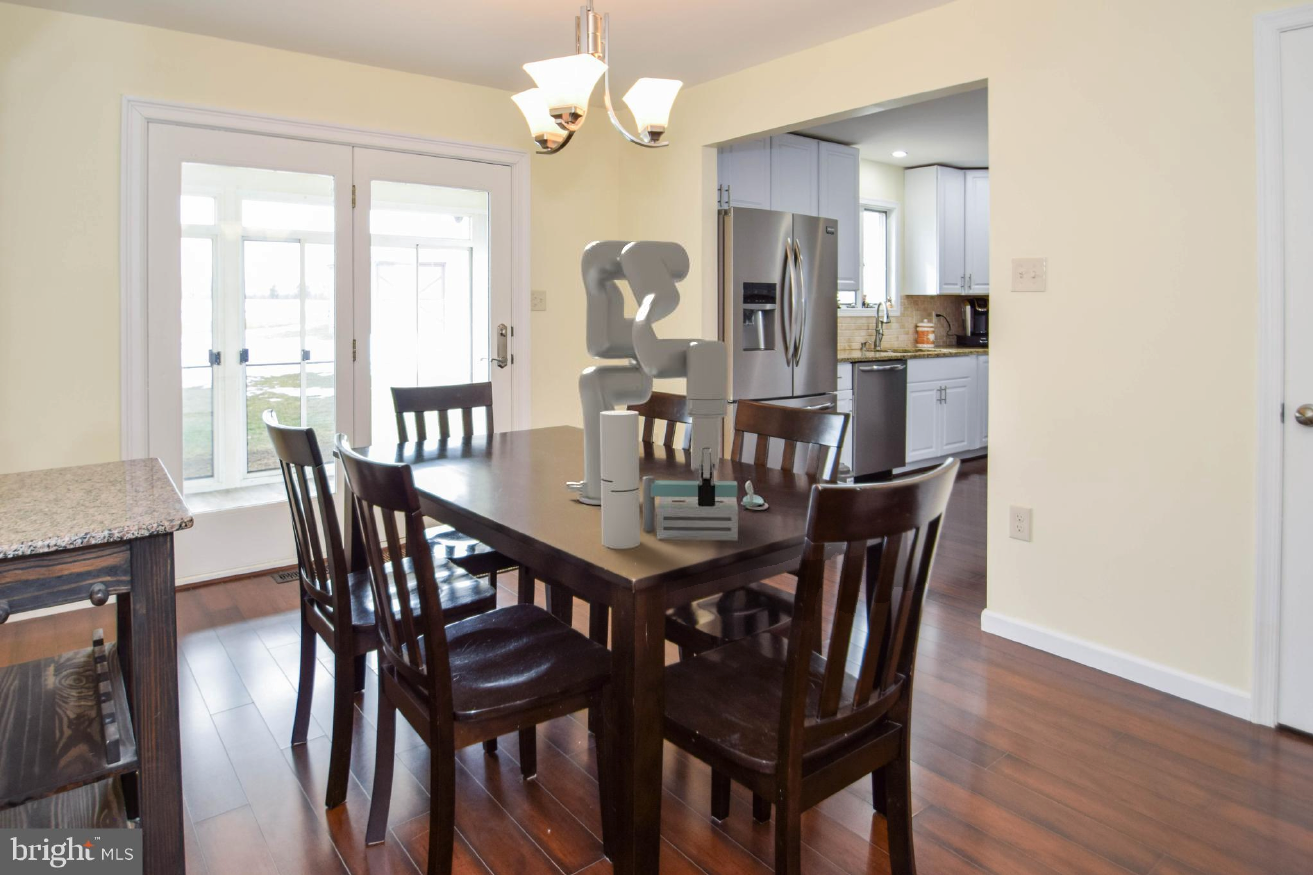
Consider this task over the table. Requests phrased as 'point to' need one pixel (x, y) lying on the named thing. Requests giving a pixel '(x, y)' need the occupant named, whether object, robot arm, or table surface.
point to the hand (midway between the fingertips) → (706, 505)
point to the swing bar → (676, 494)
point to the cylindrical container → (620, 478)
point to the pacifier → (753, 499)
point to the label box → (697, 519)
